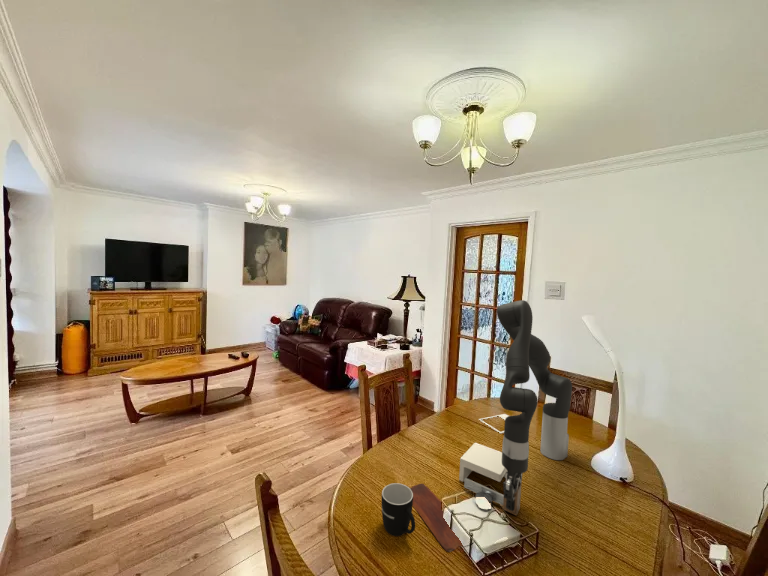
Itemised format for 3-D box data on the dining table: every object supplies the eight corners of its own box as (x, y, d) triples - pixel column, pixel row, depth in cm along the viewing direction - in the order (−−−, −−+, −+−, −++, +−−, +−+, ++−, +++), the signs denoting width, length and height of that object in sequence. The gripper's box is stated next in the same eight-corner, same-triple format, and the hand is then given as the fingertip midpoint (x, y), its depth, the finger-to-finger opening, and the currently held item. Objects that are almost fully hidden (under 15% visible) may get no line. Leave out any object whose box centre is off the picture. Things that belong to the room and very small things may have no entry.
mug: (374, 523, 91) (375, 490, 91) (398, 511, 97) (399, 479, 96) (400, 554, 82) (401, 517, 81) (425, 538, 87) (427, 503, 86)
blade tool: (519, 508, 99) (521, 483, 98) (516, 515, 96) (517, 490, 95) (466, 483, 109) (468, 461, 109) (462, 489, 106) (463, 466, 106)
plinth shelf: (511, 477, 115) (512, 456, 115) (498, 498, 104) (500, 474, 104) (474, 462, 124) (475, 442, 123) (459, 480, 112) (460, 458, 112)
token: (476, 497, 104) (477, 490, 104) (492, 502, 102) (493, 495, 102) (473, 506, 100) (474, 499, 100) (490, 512, 98) (490, 505, 97)
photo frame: (527, 425, 155) (500, 432, 147) (527, 428, 155) (500, 434, 147) (504, 413, 168) (478, 418, 160) (504, 415, 168) (478, 420, 161)
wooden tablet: (477, 544, 86) (477, 538, 86) (446, 556, 82) (447, 550, 82) (425, 483, 111) (426, 479, 111) (400, 490, 107) (400, 486, 106)
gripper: (509, 438, 105) (506, 488, 106) (495, 457, 94) (492, 512, 95) (533, 446, 101) (530, 498, 102) (522, 467, 90) (518, 525, 90)
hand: (512, 504), depth 98 cm, fingers closed on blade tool, 4 cm apart
